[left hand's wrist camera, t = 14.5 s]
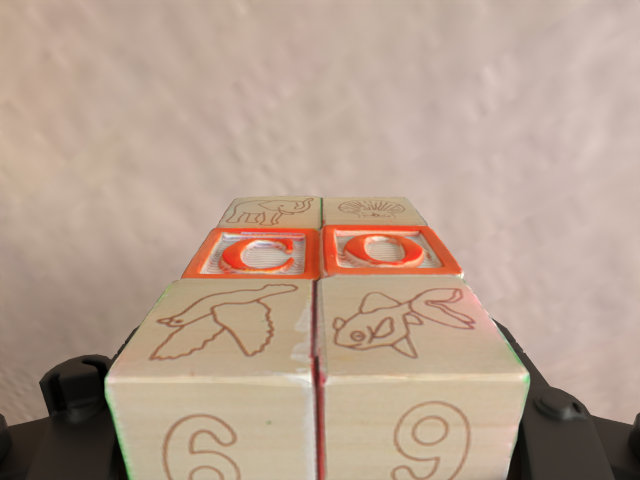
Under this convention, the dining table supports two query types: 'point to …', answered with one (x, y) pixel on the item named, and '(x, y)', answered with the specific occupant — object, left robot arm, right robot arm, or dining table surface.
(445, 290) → the stack of blocks
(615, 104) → the dining table surface
